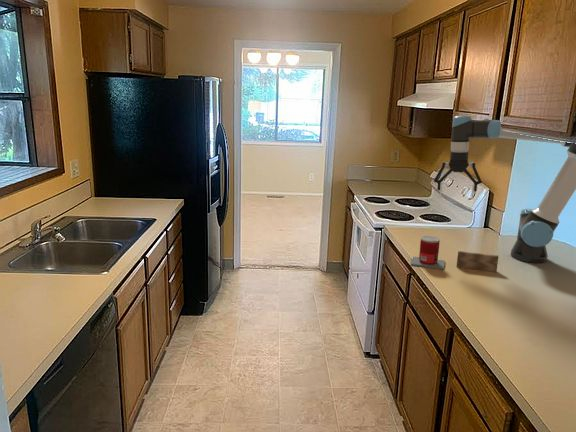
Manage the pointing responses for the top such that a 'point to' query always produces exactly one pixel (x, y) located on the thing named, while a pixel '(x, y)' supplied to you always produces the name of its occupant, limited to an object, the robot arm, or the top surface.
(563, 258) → the top surface
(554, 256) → the top surface
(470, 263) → the walnut screen
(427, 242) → the canned food
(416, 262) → the slate mat
